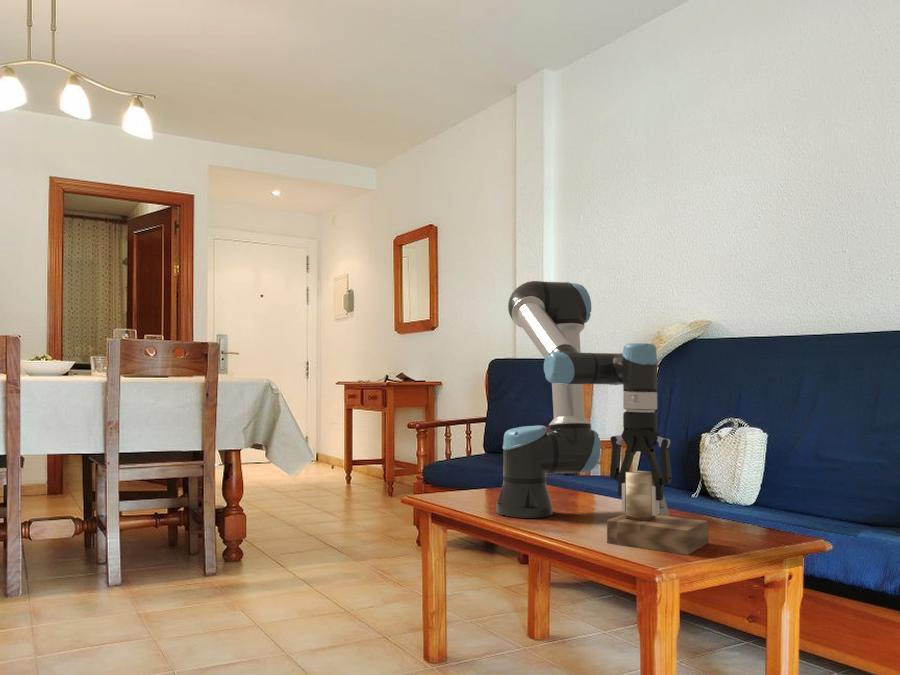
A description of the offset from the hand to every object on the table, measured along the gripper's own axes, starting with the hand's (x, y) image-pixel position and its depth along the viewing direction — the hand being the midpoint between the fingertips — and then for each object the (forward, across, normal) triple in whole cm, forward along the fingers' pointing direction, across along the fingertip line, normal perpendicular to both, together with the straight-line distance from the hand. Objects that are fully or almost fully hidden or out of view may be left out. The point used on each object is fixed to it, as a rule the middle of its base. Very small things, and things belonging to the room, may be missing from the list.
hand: (640, 512), depth 167 cm
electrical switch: (+7, -7, +26) cm, 28 cm away
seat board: (+6, +4, 0) cm, 7 cm away
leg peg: (+5, 0, 0) cm, 5 cm away
